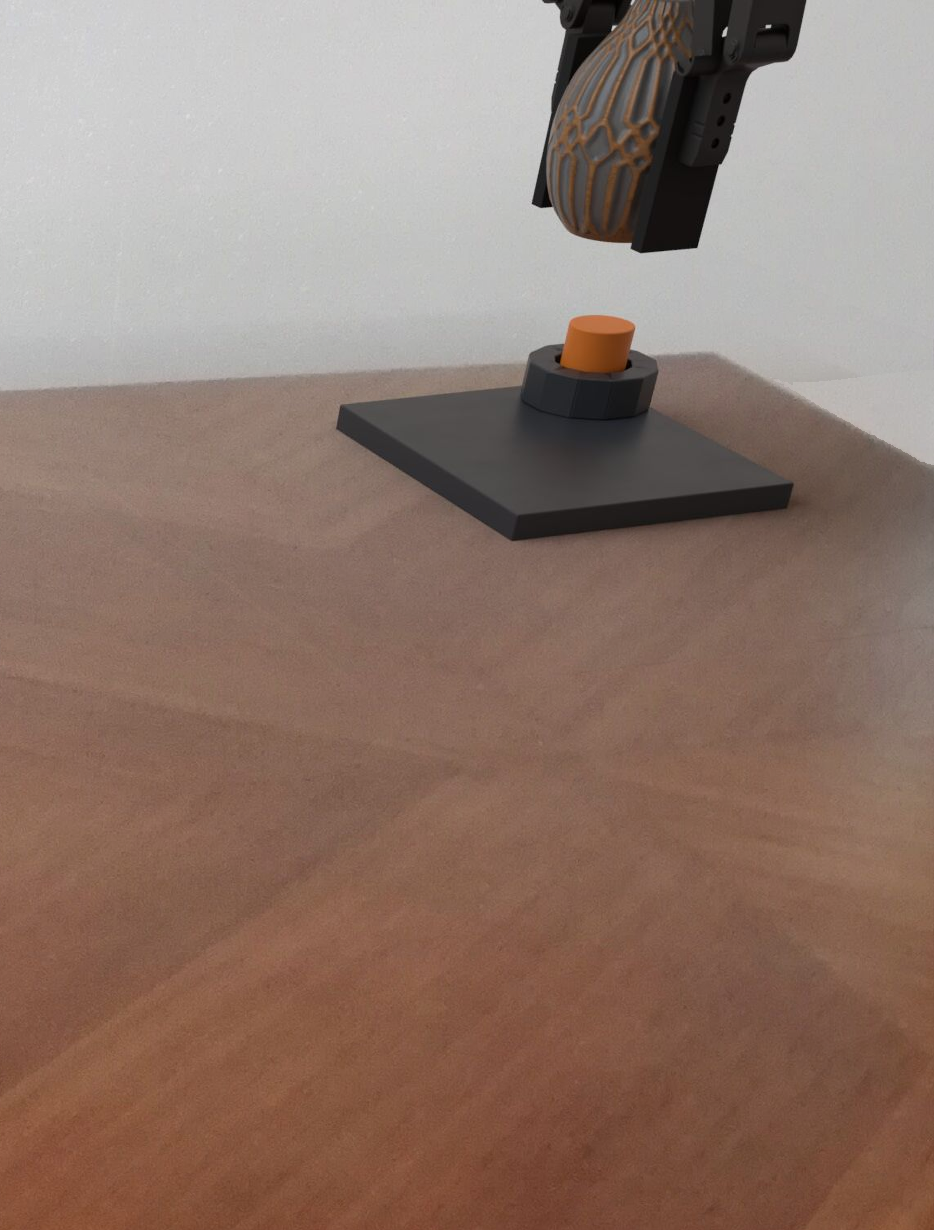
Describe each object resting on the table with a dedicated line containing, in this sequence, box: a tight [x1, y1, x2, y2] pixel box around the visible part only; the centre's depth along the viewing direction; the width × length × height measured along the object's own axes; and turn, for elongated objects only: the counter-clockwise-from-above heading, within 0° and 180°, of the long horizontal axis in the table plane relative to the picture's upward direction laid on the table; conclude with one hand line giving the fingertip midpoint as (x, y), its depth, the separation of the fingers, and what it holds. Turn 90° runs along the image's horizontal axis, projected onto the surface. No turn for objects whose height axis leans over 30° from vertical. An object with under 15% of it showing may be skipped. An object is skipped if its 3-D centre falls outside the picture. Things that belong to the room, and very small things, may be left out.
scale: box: [335, 343, 795, 542], centre depth 114 cm, size 16×14×3 cm
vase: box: [546, 0, 695, 244], centre depth 103 cm, size 7×7×9 cm
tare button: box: [560, 314, 636, 373], centre depth 117 cm, size 3×3×2 cm
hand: (612, 224), depth 105 cm, fingers closed on vase, 7 cm apart
